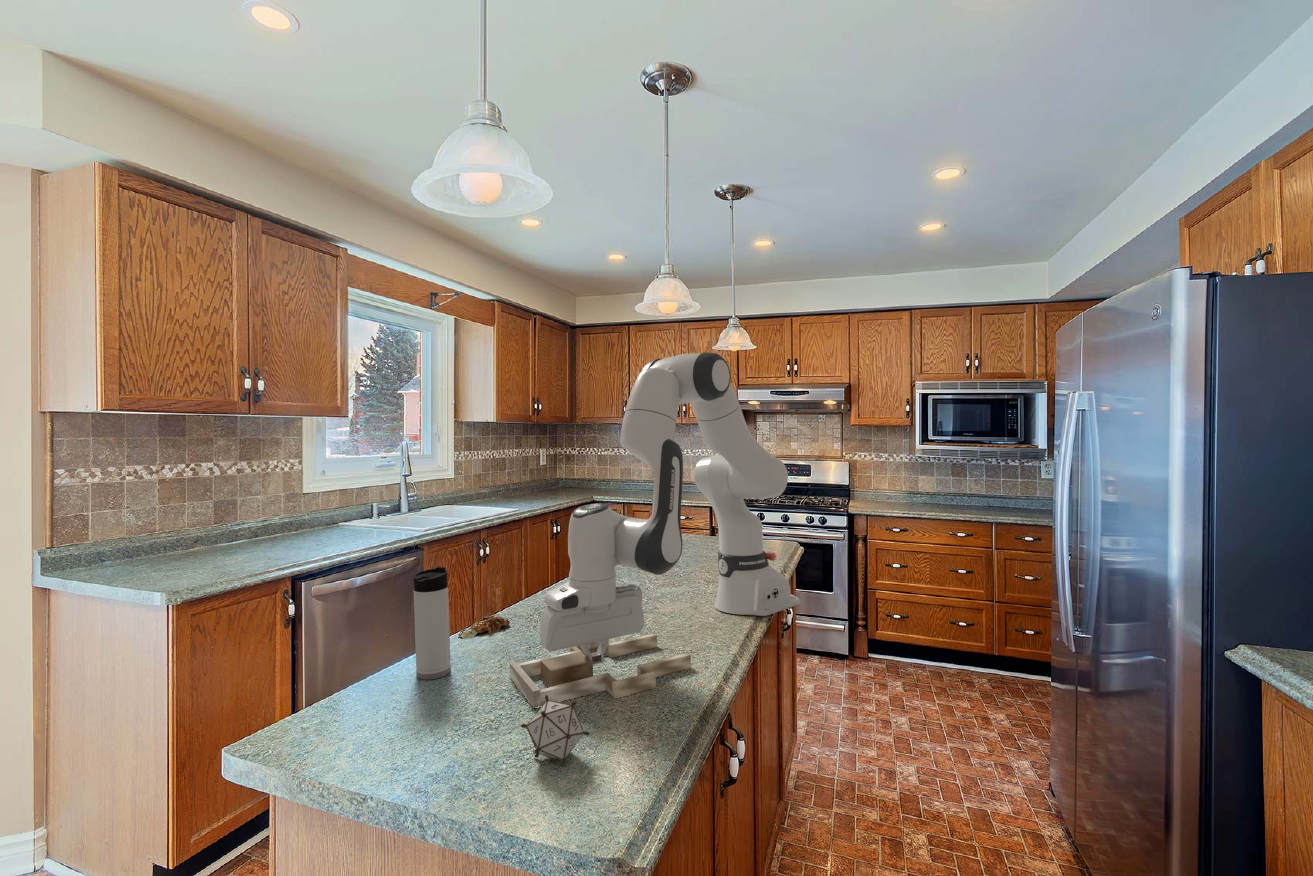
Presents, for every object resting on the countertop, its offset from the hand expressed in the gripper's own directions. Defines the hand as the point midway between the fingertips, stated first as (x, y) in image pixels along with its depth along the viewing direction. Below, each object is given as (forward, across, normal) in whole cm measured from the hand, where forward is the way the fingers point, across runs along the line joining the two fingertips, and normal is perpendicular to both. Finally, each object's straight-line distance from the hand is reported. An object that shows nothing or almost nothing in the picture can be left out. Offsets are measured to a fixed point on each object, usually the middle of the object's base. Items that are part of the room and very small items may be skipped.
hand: (594, 663), depth 112 cm
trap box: (+2, -1, 0) cm, 2 cm away
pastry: (+3, +12, -38) cm, 40 cm away
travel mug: (+2, +26, -18) cm, 32 cm away
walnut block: (+2, +6, 0) cm, 6 cm away
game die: (+2, +16, +23) cm, 28 cm away
